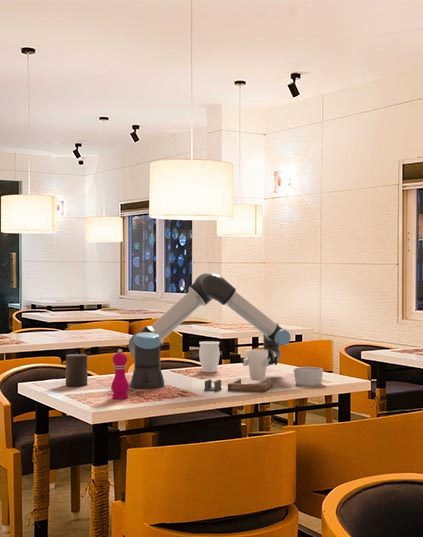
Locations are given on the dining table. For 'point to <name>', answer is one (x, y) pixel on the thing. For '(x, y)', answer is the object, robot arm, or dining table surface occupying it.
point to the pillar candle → (76, 370)
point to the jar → (209, 356)
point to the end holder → (249, 386)
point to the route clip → (209, 388)
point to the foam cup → (257, 364)
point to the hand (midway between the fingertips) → (255, 363)
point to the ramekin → (308, 376)
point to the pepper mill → (120, 377)
